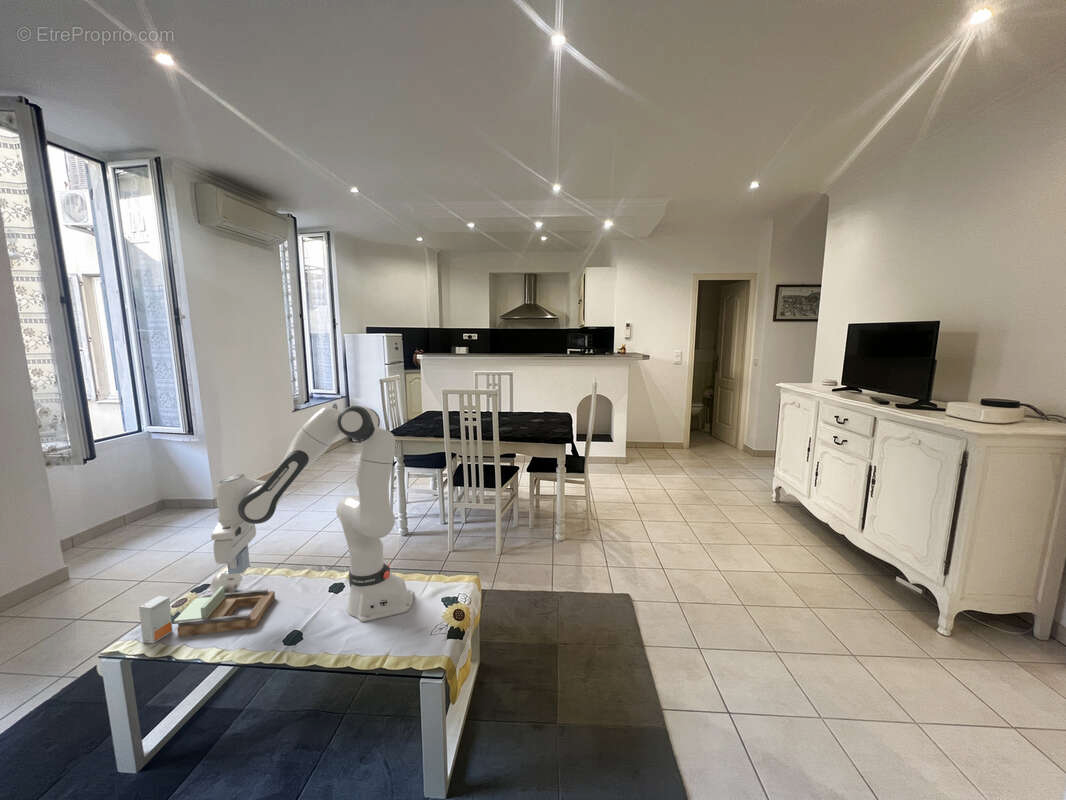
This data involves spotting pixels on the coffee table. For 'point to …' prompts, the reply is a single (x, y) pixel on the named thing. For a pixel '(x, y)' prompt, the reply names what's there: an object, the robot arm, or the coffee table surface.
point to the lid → (202, 607)
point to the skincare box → (155, 619)
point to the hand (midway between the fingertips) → (238, 562)
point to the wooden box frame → (221, 614)
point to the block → (240, 562)
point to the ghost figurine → (226, 581)
